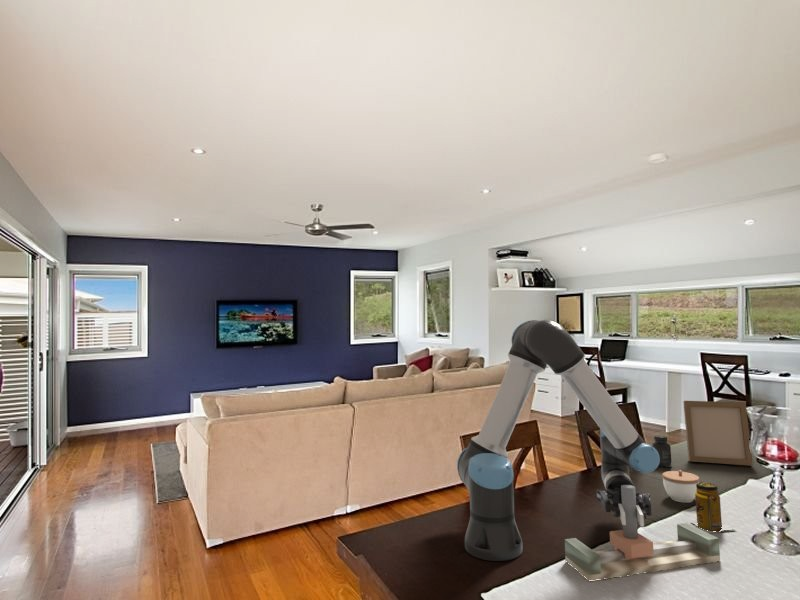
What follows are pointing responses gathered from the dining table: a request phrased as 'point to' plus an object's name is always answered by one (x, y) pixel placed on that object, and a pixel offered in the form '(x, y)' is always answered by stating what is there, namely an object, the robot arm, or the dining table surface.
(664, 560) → the rail track
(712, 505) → the condiment
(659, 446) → the supplement bottle
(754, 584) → the dining table surface
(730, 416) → the photo frame
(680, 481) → the lidded jar
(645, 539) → the carriage
